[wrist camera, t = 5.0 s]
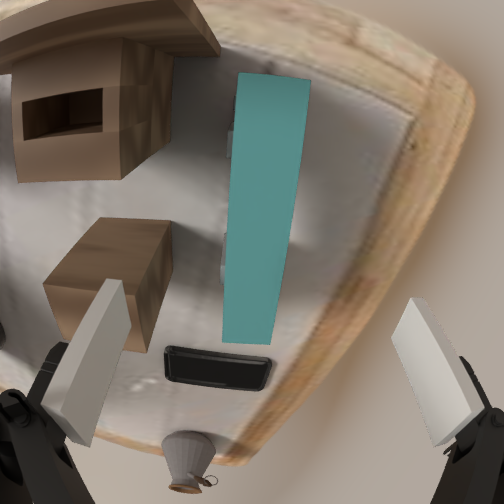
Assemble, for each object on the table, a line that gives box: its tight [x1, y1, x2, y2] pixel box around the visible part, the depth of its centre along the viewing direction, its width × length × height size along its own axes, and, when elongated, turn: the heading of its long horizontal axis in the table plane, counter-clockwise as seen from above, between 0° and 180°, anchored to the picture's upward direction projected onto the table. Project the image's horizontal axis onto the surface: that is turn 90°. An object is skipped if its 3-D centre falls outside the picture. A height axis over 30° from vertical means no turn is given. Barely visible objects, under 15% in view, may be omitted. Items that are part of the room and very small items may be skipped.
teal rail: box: [222, 72, 311, 345], centre depth 23 cm, size 20×4×9 cm, turn 175°
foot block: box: [43, 217, 173, 353], centre depth 26 cm, size 6×8×12 cm
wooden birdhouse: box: [0, 0, 221, 183], centre depth 15 cm, size 9×16×18 cm, turn 85°
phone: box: [164, 346, 272, 391], centre depth 41 cm, size 8×1×15 cm
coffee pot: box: [161, 431, 218, 494], centre depth 46 cm, size 21×12×15 cm, turn 154°
